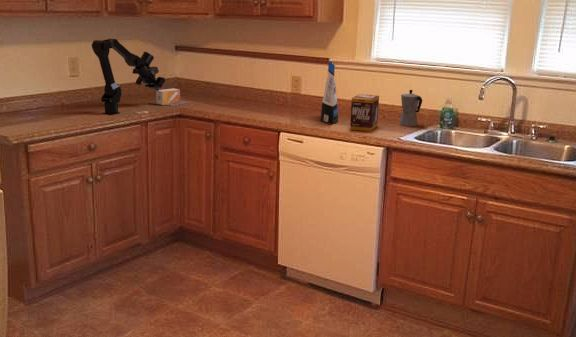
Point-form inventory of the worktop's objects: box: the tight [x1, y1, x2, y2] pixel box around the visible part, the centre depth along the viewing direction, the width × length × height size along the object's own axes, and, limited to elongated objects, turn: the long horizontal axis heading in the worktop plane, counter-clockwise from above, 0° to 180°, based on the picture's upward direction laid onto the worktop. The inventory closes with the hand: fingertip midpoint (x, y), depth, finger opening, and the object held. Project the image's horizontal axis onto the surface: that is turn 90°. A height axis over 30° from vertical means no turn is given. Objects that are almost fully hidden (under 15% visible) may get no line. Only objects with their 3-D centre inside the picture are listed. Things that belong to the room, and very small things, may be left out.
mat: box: [148, 100, 190, 107], centre depth 360 cm, size 16×18×1 cm
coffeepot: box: [398, 89, 423, 127], centre depth 304 cm, size 15×9×18 cm, turn 28°
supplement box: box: [349, 93, 380, 132], centre depth 296 cm, size 10×15×16 cm
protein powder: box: [320, 60, 339, 125], centre depth 311 cm, size 10×24×30 cm, turn 3°
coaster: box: [134, 110, 148, 115], centre depth 326 cm, size 7×7×1 cm
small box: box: [155, 88, 181, 106], centre depth 355 cm, size 8×6×13 cm
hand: (158, 90), depth 350 cm, fingers closed
